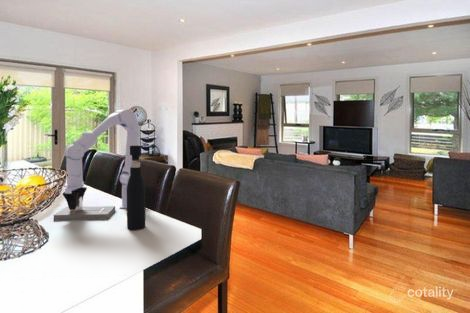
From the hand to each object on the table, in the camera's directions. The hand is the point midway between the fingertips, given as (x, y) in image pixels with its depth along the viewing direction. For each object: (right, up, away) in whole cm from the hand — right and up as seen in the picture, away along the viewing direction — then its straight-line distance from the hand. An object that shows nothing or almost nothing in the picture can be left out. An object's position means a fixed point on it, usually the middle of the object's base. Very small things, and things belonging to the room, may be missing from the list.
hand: (75, 207), depth 124 cm
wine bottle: (+29, -6, -13) cm, 32 cm away
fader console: (+4, -3, +1) cm, 5 cm away
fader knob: (0, -1, 0) cm, 1 cm away
